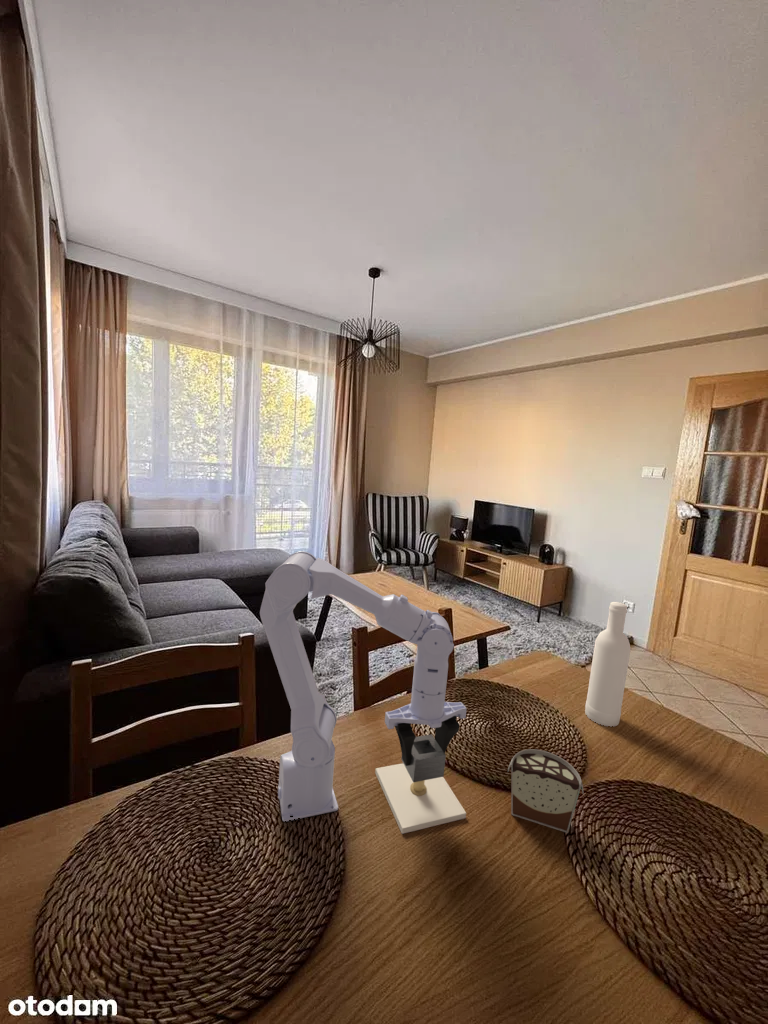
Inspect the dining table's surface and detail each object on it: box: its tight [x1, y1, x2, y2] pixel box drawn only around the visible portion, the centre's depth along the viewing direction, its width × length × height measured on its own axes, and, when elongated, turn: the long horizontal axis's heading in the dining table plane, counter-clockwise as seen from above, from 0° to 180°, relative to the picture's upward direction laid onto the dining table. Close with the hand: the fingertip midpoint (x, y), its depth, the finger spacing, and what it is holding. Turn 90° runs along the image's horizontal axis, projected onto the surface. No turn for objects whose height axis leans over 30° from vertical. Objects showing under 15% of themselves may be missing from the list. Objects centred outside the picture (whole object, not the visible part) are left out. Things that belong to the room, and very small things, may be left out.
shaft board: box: [374, 762, 467, 835], centre depth 78 cm, size 12×14×6 cm
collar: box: [400, 734, 447, 782], centre depth 74 cm, size 6×6×4 cm
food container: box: [507, 748, 584, 834], centre depth 76 cm, size 12×6×10 cm, turn 71°
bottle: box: [584, 601, 632, 728], centre depth 106 cm, size 8×8×30 cm
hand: (422, 758), depth 75 cm, fingers closed on collar, 6 cm apart
